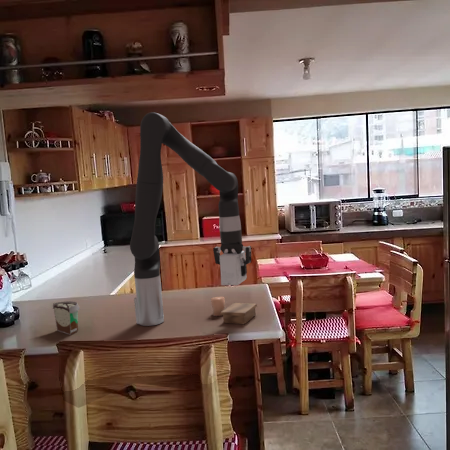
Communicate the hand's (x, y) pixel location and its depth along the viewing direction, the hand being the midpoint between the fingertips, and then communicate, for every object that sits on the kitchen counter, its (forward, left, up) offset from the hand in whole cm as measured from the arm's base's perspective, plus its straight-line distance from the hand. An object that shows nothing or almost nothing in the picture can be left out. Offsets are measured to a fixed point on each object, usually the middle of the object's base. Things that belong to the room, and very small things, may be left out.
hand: (234, 275), depth 172 cm
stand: (0, +2, -16) cm, 16 cm away
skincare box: (0, 0, -3) cm, 3 cm away
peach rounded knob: (-10, +6, -16) cm, 20 cm away
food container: (-56, -22, -16) cm, 62 cm away
